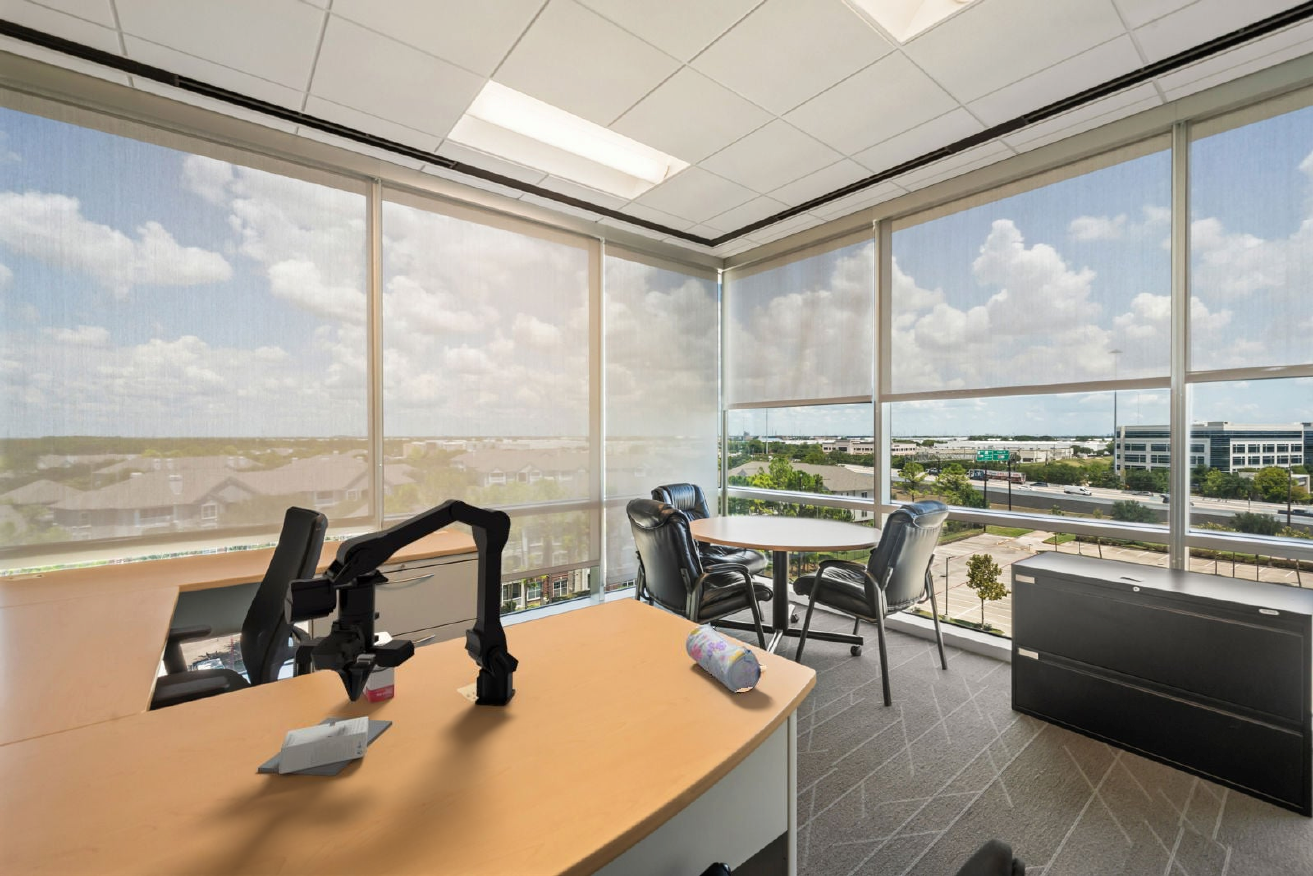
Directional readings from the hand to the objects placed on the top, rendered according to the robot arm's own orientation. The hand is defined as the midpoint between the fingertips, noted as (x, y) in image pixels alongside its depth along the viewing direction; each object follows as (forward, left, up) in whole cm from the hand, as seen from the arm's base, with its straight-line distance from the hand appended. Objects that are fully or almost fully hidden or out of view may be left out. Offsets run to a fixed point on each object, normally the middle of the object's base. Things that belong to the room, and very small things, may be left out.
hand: (354, 700), depth 92 cm
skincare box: (-3, +1, -6) cm, 6 cm away
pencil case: (-66, -36, -8) cm, 75 cm away
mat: (+4, 0, -8) cm, 9 cm away
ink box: (+8, -20, -8) cm, 23 cm away
